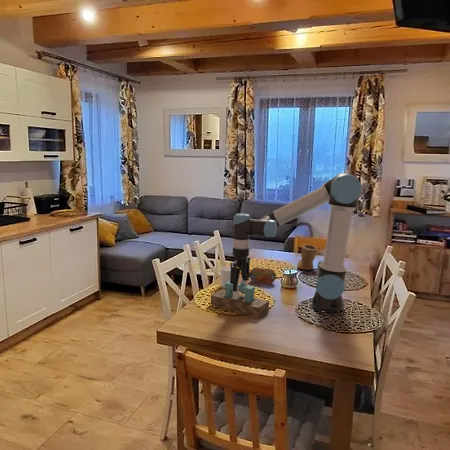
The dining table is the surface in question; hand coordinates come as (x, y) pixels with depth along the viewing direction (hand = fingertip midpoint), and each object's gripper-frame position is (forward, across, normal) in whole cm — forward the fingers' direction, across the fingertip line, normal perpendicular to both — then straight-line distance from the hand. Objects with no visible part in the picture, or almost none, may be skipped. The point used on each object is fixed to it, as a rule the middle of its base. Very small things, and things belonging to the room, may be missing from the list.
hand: (239, 295), depth 190 cm
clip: (+5, 0, 0) cm, 5 cm away
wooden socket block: (+6, 0, 0) cm, 6 cm away
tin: (+7, -40, -10) cm, 42 cm away
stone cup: (+7, -83, -2) cm, 83 cm away
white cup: (+7, -22, -22) cm, 32 cm away
